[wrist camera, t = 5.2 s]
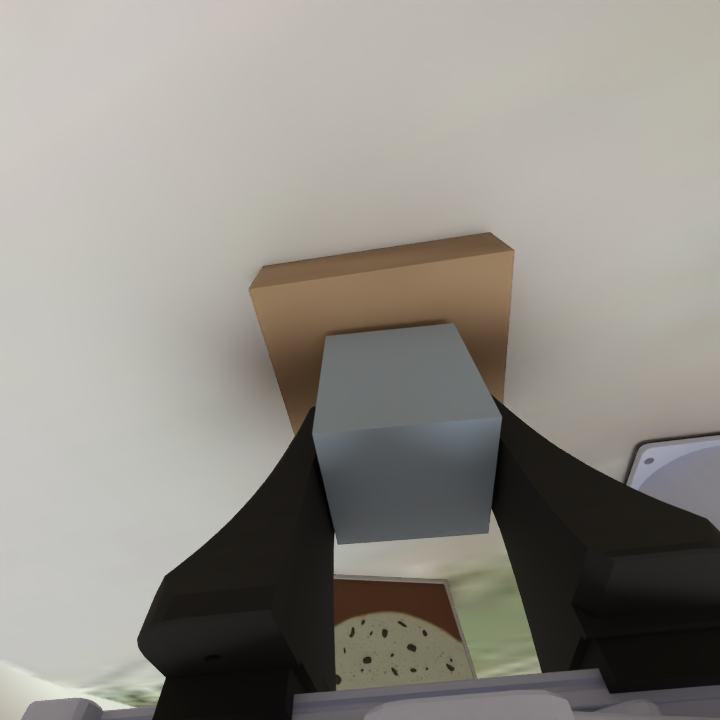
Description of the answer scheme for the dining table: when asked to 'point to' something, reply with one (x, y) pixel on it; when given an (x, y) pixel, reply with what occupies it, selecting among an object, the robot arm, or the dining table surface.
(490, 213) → the dining table surface
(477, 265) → the base
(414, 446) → the block
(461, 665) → the food container
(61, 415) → the dining table surface
